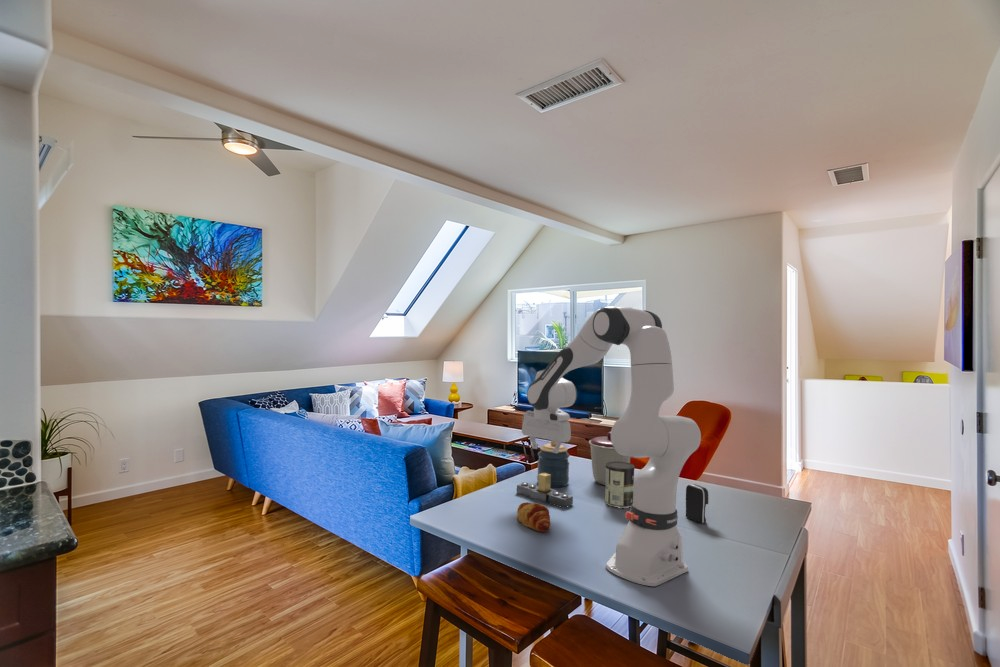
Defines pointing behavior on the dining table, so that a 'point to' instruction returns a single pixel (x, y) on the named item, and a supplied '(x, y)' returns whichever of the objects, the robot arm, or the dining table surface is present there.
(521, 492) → the silver studded bar
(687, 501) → the battery charger
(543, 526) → the croissant
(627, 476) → the coffee can
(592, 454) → the canister
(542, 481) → the gold rectangular block
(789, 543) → the dining table surface
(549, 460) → the canister
